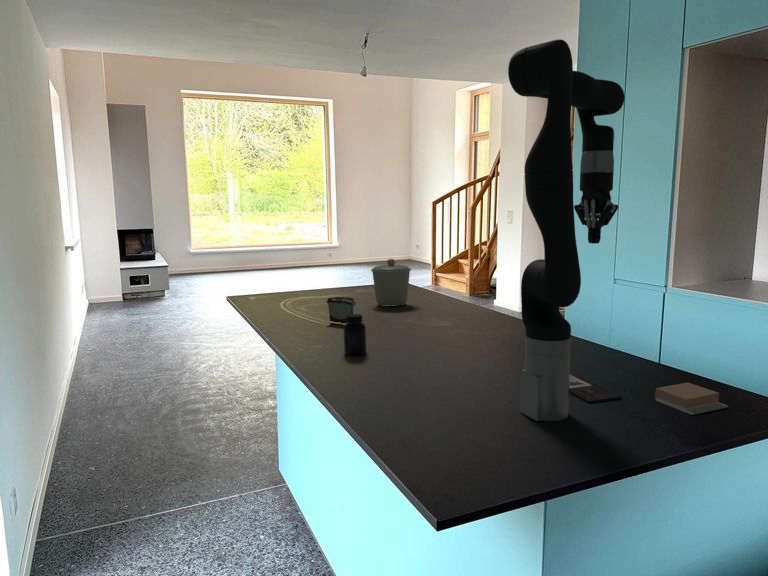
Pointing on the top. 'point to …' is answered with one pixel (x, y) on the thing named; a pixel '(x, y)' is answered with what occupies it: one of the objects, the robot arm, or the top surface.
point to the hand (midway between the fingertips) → (594, 243)
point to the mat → (697, 410)
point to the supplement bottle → (354, 336)
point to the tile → (687, 396)
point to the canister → (391, 283)
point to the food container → (340, 308)
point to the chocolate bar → (589, 390)
